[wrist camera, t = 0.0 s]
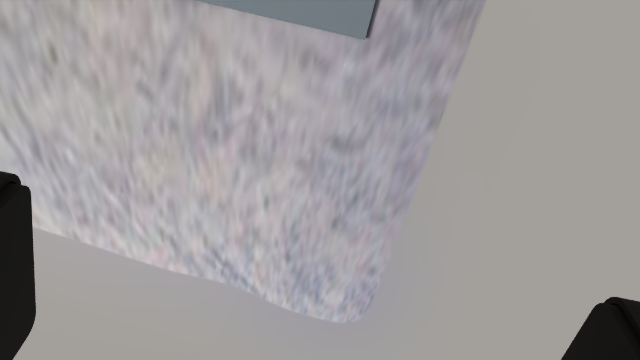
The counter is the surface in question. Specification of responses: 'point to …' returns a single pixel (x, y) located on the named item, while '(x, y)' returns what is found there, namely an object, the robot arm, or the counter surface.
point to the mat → (311, 13)
